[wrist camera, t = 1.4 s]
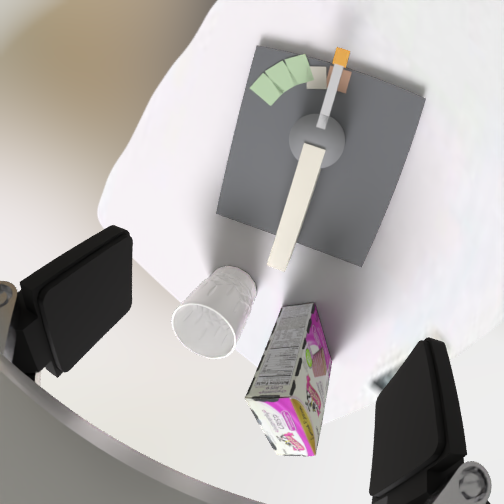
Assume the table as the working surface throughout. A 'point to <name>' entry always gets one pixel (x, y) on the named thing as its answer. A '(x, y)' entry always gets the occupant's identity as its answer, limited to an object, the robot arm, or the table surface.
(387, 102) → the tuner board
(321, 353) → the candy bar box
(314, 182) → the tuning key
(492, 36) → the table surface
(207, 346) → the white cup
